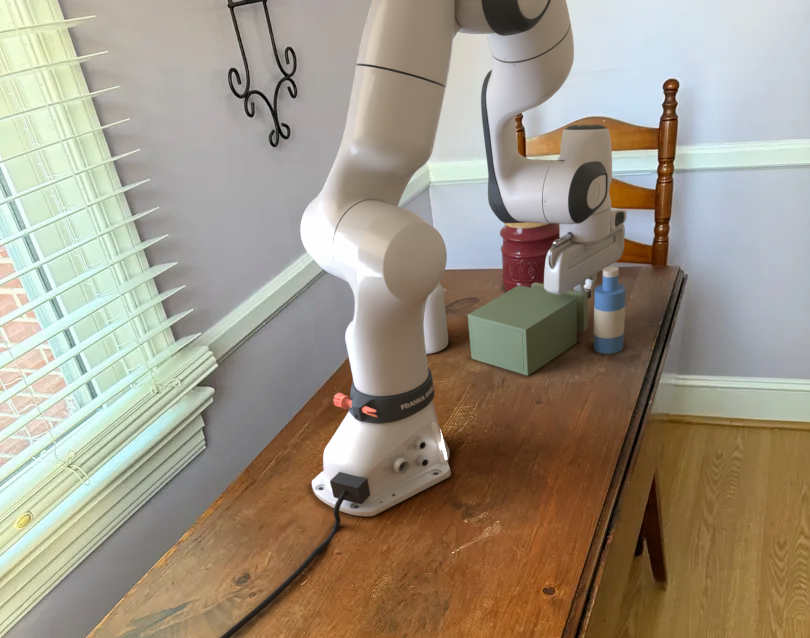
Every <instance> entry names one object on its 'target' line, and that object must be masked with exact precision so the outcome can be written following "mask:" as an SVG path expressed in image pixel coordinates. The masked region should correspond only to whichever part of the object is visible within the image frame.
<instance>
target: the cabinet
mask: <svg viewBox="0 0 810 638" xmlns="http://www.w3.org/2000/svg"><path fill="white" fill-rule="evenodd" d="M467 322H468V333H469V344H470V355H471V360H475V361H478V362H482V363H484V364H489V365H491V366H493V367H494V366H495V367H498V368H501V369H505V370H508V371H511V372H514V373H518V374H521V375H524V376H526V377H527V376H530V375H532V374H533V373H534V372H536V371H537V370H539V369H540V368H541V367H543V366H545V365H546V364H548V363H549V362H551V361H552V360H553V359H556V358H557V357H558V356H560V355H561V354H562V353H563V352H565V351H567V350H568V349H570V348H572V347H573V346H574V345H576V344H577V343H578V339H577V337H578V329H577V298H575V297H571V296H566V295H556V294H551V293H548V292H547V291H543V290H539V289H534V288H530V287H525V286H521V285H518V286H516V287H515V288H513V289H511V290H509V291H506V292H504V293H503V294H501V295H499V296H497V297H495V298H493V299H492V300H490V301H489V302H487V303H485V304H483V305H482V306H480V307H479V308H476V309H475V310H473V311H471V312H469V313H468V314H467Z"/></svg>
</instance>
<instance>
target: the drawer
mask: <svg viewBox="0 0 810 638" xmlns="http://www.w3.org/2000/svg"><path fill="white" fill-rule="evenodd" d="M531 286H532V288H534V289H539V290H543V291H546V290H545V288H544V284H541V283H536V282H535V283H533V284H532V285H531ZM562 295H566V296H571V297H575V298H577V331H578V330H579V331H583V332H584V331H587V329H588V321H589V320H588V319H589V318H588V317H589V316H588V315H589V314H588V313H589V310H588V309H589V299H588V293H583V292H578V291H574V289H570V290H569V291H567V292H565V293H564V294H562Z"/></svg>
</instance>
